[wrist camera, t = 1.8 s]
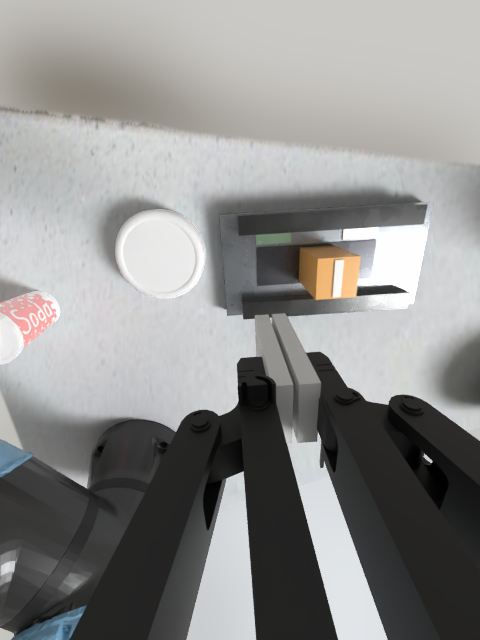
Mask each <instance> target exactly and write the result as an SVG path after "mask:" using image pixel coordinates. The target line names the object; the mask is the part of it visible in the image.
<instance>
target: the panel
mask: <svg viewBox="0 0 480 640" xmlns="http://www.w3.org/2000/svg"><path fill="white" fill-rule="evenodd" d="M433 203H434V202H416V203H400V204H383V205H367V206H351V207H334V208H318V209H302V210H285V211H269V212H253V213H236V214H220V215H219V220H220V232H221V245H222V257H223V270H224V282H225V295H226V307H227V316H230V315H243V319H255V315H267V314H268V315H269V318H270V317H272V314H282V313H285V314H286V316H300V315H315V314H330V313H345V312H360V311H375V310H390V309H405V308H408V304H410V303H413V302H414V297H415V292H416V287H417V282H418V277H419V272H420V267H421V263H422V258H423V253H424V248H425V243H426V238H427V233H428V228H429V223H430V218H431V213H432V208H433ZM332 245H335V246H337V247H339V248H342V249H344V250H347V251H349V252H352V253H354V254H357V255H359V256H361V259H360V268H359V277H358V285H357V294H356V297H352V298H337V299H322V300H315V299H314V298H313V296H312V295H311V294H310V293H309V292H308V291H307V290H306V289H305V288H304V286H303V285H302V284H301V283H300V282H299V257H300V247H316V246H332Z"/></svg>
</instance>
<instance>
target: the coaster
mask: <svg viewBox="0 0 480 640" xmlns="http://www.w3.org/2000/svg"><path fill="white" fill-rule="evenodd" d="M115 258H116V262H117V265H118V268H119V270H120V272H121V274H122V275H123V277H124V278H125V279H126V281H127V282H128V283H129V284H130V285H131V286H132V287H134V288H135V289H136V290H138V291H139V292H141V293H143V294H145V295H147V296H151V297H154V298H161V299H167V298H174V297H178V296H181V295H183V294H185V293H187V292H188V291H189V290H191V289H192V288H193V287H194V286H195V285H196V283H197V282H198V280H199V279H200V277H201V275H202V272H203V269H204V266H205V262H206V248H205V243H204V240H203V238H202V236H201V234H200V232H199V230H198V229H197V228H196V226H195V225H194V224H193V223H192V222H191V221H190V220H189V219H187V218H186V217H184V216H183V215H181V214H179V213H177V212H174V211H171V210H166V209H153V210H146V211H142V212H139V213H137V214H135V215H133V216H132V217H130V218H129V219H128V220H127V221H126V222H125V223H124V224H123V226H122V227H121V229H120V231H119V233H118V235H117V239H116V243H115Z"/></svg>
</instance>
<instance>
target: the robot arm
mask: <svg viewBox="0 0 480 640" xmlns="http://www.w3.org/2000/svg"><path fill="white" fill-rule="evenodd" d="M255 332H256V357H249V358H241V359H240V360H239V362H238V363H237V373H238V397H239V402H238V404H237V406H236V407H235V408H234V409H233V410H232V411H230V412H229V413H226V414H224V415H221V416H218V415H217V414H216V413H214V412H213V411H209V410H198V411H195V412H192V413H190V414H189V415H187V416H186V417H185V418H184V419H183V421H182V422H181V424H180V426H179V428H178V430H177V432H176V433H175V432H174V431H173V430H171V429H169V428H168V427H166V426H163V425H161V424H158V423H155V422H150V421H142V420H136V421H127V422H123V423H119V424H117V425H115V426H113V427H111V428H109V429H108V430H107V431H106V432H104V434H103V435H102V436H101V437H100V439H99V441H98V443H97V445H96V446H95V448H94V450H93V453H92V457H91V463H90V470H89V477H88V484H87V489H86V488H85V487H83V486H81V485H79V484H78V483H76V482H74V481H73V480H71V479H70V478H68V477H66V476H65V475H63V474H61V473H60V472H58V471H56V470H55V469H53V468H52V467H50V466H48V465H47V464H45V463H43V462H42V461H40V460H38V459H37V458H35V457H33V455H34V454H33V453H31V452H29V453H27V452H25V451H23V450H21V449H19V448H17V447H15V446H13V445H11V444H9V443H8V442H6V441H3V440H0V628H3V629H5V630H8V631H11V632H12V633H14V637H13V638H12V640H186V638H187V634H188V630H189V626H190V622H191V618H192V614H193V610H194V606H195V602H196V598H197V594H198V590H199V586H200V582H201V578H202V574H203V570H204V566H205V562H206V558H207V554H208V550H209V546H210V542H211V538H212V534H213V531H214V527H215V522H216V519H217V515H218V511H219V507H220V503H221V499H222V495H223V491H224V487H225V483H226V478H228V477H230V476H233V475H235V474H238V473H240V472H243V471H244V481H245V494H246V508H247V520H248V534H249V548H250V561H251V574H252V588H253V602H254V615H255V628H256V640H338V638H337V634H336V631H335V626H334V623H333V619H332V615H331V611H330V607H329V604H328V600H327V596H326V592H325V588H324V584H323V580H322V577H321V573H320V569H319V565H318V561H317V558H316V554H315V550H314V546H313V542H312V538H311V535H310V531H309V527H308V523H307V519H306V515H305V512H304V508H303V504H302V501H301V496H300V493H299V489H298V485H297V481H296V477H295V473H294V469H293V466H292V462H291V458H290V454H289V450H288V447H287V444H288V443H292V425H293V429H294V432H295V436H296V439H297V443H302V442H316V441H317V435H318V432H319V435H320V437H321V440H322V441H321V453H320V468H323V465H324V461H325V464H326V467H327V470H328V473H329V475H330V478H331V481H332V484H333V486H334V489H335V492H336V495H337V498H338V501H339V503H340V506H341V509H342V512H343V515H344V518H345V520H346V523H347V526H348V529H349V532H350V534H351V537H352V540H353V543H354V545H355V548H356V551H357V554H358V557H359V560H360V563H361V565H362V568H363V571H364V574H365V577H366V579H367V582H368V585H369V588H370V591H371V593H372V596H373V599H374V602H375V605H376V607H377V610H378V613H379V616H380V619H381V621H382V624H383V627H384V630H385V633H386V636H387V638H388V640H480V441H479V440H477V439H476V438H475V437H473V436H472V435H471V434H469V433H468V432H467V431H465V430H464V429H462V428H461V427H460V426H458V425H457V424H456V423H454V422H453V421H451V420H450V419H449V418H447V417H446V416H445V415H443V414H442V413H441V412H439V411H438V410H436V409H435V408H434V407H432V406H431V405H430V404H428V403H427V402H425V401H423V400H421V399H419V398H417V397H414V396H409V395H396V396H394V397H392V398H391V399H390V401H389V405H385V404H379V403H372V402H368V401H365V399H364V398H363V396H362V395H361V394H360V393H359V392H357V391H355V390H353V389H351V388H348V387H347V386H346V384H345V383H344V381H343V380H342V378H341V377H340V375H339V373H338V372H337V370H336V369H335V367H334V366H333V365H332V363H331V361H330V360H329V358H328V357H327V356H325V355H324V354H322V353H321V352H311V353H306V352H305V350H304V349H303V347H302V345H301V343H300V341H299V339H298V337H297V335H296V333H295V331H294V329H293V327H292V325H291V323H290V321H289V319H288V318H287V316H286V314H285V313H282V314H272V324H271V321H270V318H269V315H268V314H267V315H255ZM424 453H425V454H426V455H427V456H428V457H429V458H430V459H431V460H432V461H433V462H432V463H430V462H428V461H427V460H426V459H425V458H424V457H423V456H424Z"/></svg>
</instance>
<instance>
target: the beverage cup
mask: <svg viewBox="0 0 480 640" xmlns="http://www.w3.org/2000/svg"><path fill="white" fill-rule="evenodd" d="M59 316H60V307H59V305H58V303H57V301H56V300H55V299H54V298H53V297H52V296H51V295H49V294H47V293H45V292H41V291H34V292H29V293H27V294H24V295H21V296H18V297H15V298H12V299H9V300H7V301H4V302H1V303H0V365H1V364H6V363H9V362H10V361H11V360H13V359H14V358H15V357H17V356H18V355H19V354H20V353H21V351H22V349H23V348H24V347H25V346H26V345H27V344H29V343H30V342H31V341H32V340H33V339H35V338H36V337H37V336H38V335H39V334H41V333H42V332H43V331H44V330H45V329H47V328H48V327H49V326H50V325H51V324H53V323H54V322H55V321H56V320H57V319H58V318H59Z"/></svg>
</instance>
